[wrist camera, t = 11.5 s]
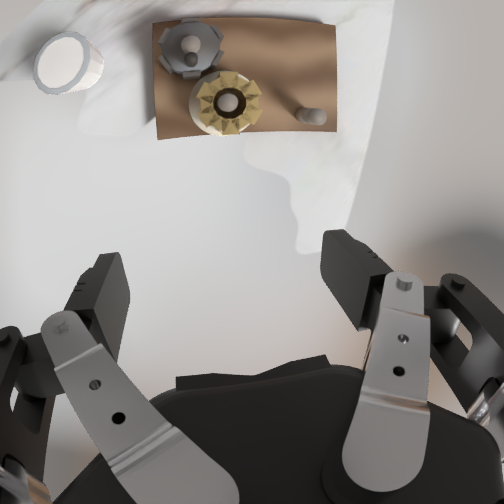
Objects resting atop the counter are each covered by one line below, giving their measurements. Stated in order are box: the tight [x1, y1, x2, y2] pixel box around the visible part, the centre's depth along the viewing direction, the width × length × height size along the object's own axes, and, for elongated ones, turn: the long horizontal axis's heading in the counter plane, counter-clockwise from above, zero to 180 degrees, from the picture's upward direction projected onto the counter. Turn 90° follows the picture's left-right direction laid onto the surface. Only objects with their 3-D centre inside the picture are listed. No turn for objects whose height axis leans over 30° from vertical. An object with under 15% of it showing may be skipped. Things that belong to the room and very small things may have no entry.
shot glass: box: [33, 32, 104, 95], centre depth 23 cm, size 7×7×7 cm
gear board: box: [153, 17, 337, 140], centre depth 27 cm, size 14×21×8 cm
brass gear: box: [196, 72, 263, 135], centre depth 28 cm, size 6×6×4 cm
